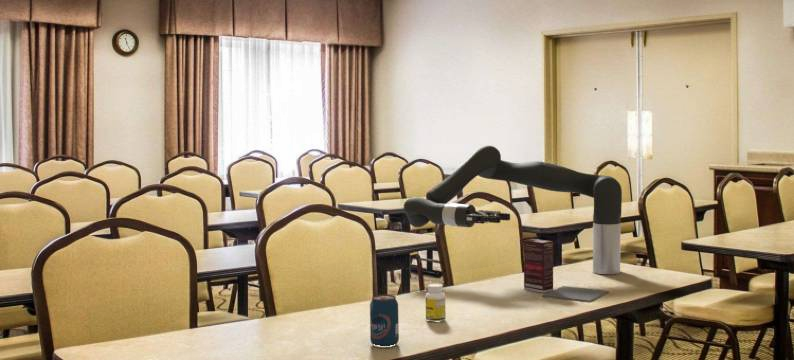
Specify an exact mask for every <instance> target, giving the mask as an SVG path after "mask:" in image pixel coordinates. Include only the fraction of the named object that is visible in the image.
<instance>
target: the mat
mask: <svg viewBox="0 0 794 360" xmlns="http://www.w3.org/2000/svg"><path fill="white" fill-rule="evenodd" d="M608 293H610V291H609V290H605V289H598V288H597V289H596V288H586V287H578V286H576V287H575V286H566V285H562V286H561V287H557V288H556V289H553V291H551V292H548V293H543V295H542V297H543V298H550V299H559V300H569V301H576V302H586V303H591V302H593V301H595V300H597V299H598V298H601V297H603V296H605V295H607V294H608Z"/></svg>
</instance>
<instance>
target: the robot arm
mask: <svg viewBox="0 0 794 360" xmlns="http://www.w3.org/2000/svg"><path fill="white" fill-rule="evenodd" d="M477 176H478V177H480V178H482V179H487V180H494V181H495V180H496V181H504V182H511V183H516V184H520V185H524V186H528V187H532V188H536V189H541V190H546V191H550V192H557V193H558V192H559V193H574V194H580V195H583V196H586V197H590V198H593V212H592V213H593V215H592V273H594V274H599V275H600V274H601V275H617V274H620V273H621V222H622V221H621V220H622V219H621V217H622V209H623V207H622V204H623V202H622V199H623V197H622V196H623V195H622V194H623V192H622V191H623V190H622V186H621V184H620V181H618V180H617V179H616V178H614V177H613V176H610V175H602V174H601V175H599V174H592V173H585V172H580V171H576V170H575V169H571V168H567V167H565V166H561V165H557V164H555V163H549V162H545V161H538V160H537V161H526V162H511V161H506V160H502V154H501V152H500V150H498V148H497V147H495V146H493V145H485V146H482V147H480V148H478V150H477V151H476V152H474V154H473V155H472V156H470V157H469V159H468V160H467V161H465V162H464V163H463V164H462V165H461V166H460V167H459V168H458V169H456V170H455V171H454V172H453V173H451V174H450V175H449V176H448V177H446V178H445V179H443V180H442V181H441V182H439V183H438V184H436V185H435V186H434V187H432V188H431V189H429V190H428V191H427V192H426V195H425V198H424V197H419V196H414V197H410V198H408V199H407V200H406V201H405V202H403V210H404V213H405V214H406V215H405V216H406V217H407V219H408V221H409V224H410V225H411V226H412V228H422V227H424V226H426V225H427V224H428V223H430V222H431V223H432V224H434V225H443V226H449V227H460V228H472V227H474V225H475V224H480V225H481V224H482V225H483V224H488V223H491V224H492V223H494V224H500V223H501V221H510V220H511V214H510V213H505V212H502V211H496V210H495V211H494V210H488V209H487V210H484V209H478V210H476V207H475V205H473V204H470V203H449V202H450V201H452V200H453V199H454V198H455V197H457V196H458V195H459V193H461V192H462V191H463V190H464V189H465V187H466V186H468V184H469V183H470V182H472V181H473V180H474V179H475V178H476V177H477Z"/></svg>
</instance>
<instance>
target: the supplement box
mask: <svg viewBox="0 0 794 360" xmlns="http://www.w3.org/2000/svg"><path fill="white" fill-rule="evenodd" d="M523 289H524V291H526V290H527V291H530V292H535V293H541V294H547V293H549V292H551V291H553V290H554V241H552V240H544V239H538V238H537V239H536V238H527V239H524V240H523Z"/></svg>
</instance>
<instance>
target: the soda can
mask: <svg viewBox="0 0 794 360" xmlns="http://www.w3.org/2000/svg"><path fill="white" fill-rule="evenodd" d="M369 320H370V321H369V326H370V327H369V329H370V333H369V334H370V339H369V340H370V342H371V344H372V345H373V344H375V345H380V346H390V345H394V344H396V345H398V342H399V337H400V335H399V332H400V331H399V327H400V326H399V302H398V301H397V297H396V296H395V295H392V294H377V295H373V296H372V297H371V301H370V303H369Z"/></svg>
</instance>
